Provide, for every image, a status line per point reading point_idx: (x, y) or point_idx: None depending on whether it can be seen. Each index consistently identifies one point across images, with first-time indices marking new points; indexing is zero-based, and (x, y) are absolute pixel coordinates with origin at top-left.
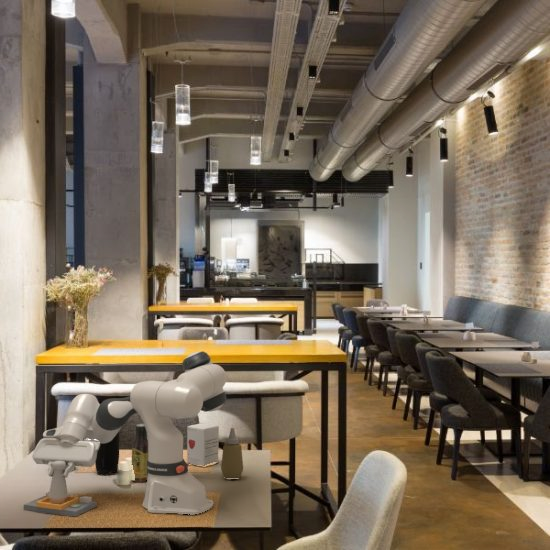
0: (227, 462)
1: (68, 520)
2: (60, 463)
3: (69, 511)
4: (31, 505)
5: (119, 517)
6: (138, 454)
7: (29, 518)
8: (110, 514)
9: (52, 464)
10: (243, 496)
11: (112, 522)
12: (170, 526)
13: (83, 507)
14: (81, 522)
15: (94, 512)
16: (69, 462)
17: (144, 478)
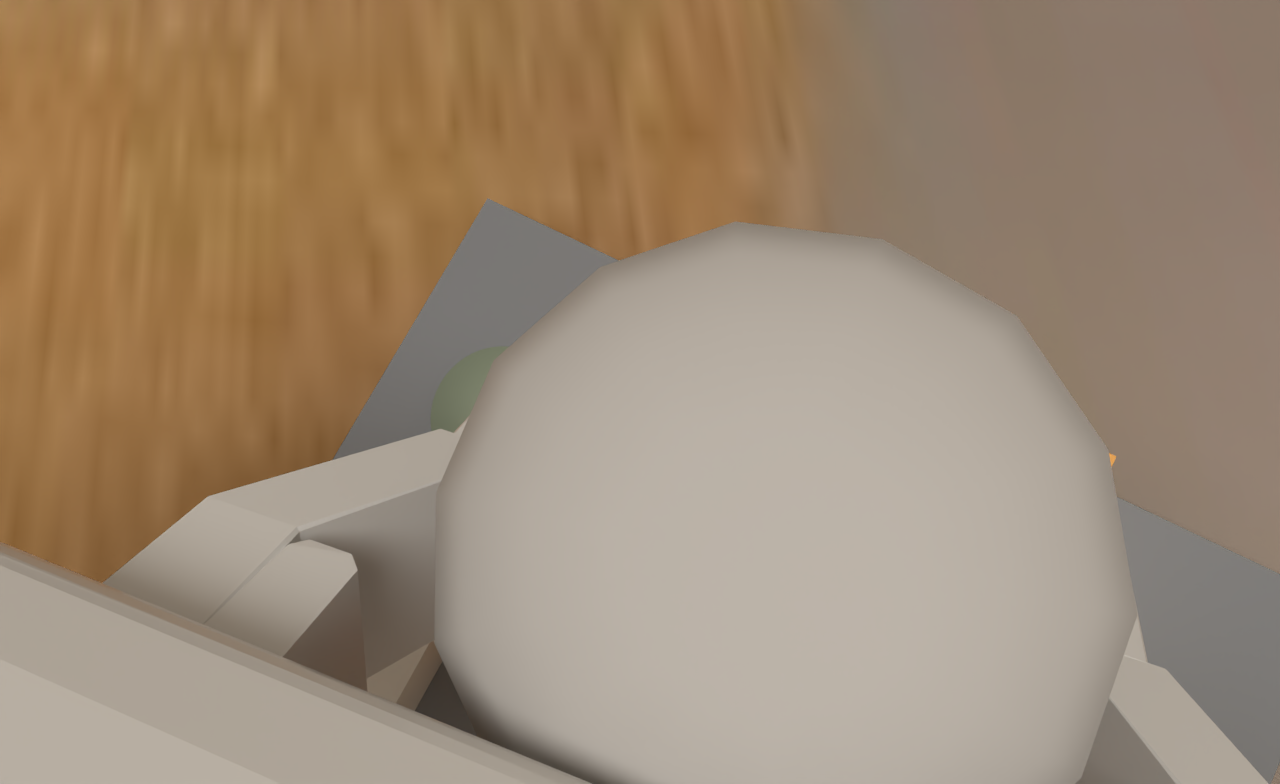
0: None
1: (577, 114)
2: (635, 283)
3: (569, 240)
4: (1187, 538)
5: (55, 187)
6: None
7: (1075, 208)
8: (133, 294)
9: (1051, 374)
10: None
11: (134, 38)
12: None
13: (399, 364)
14: (433, 46)
15: (301, 384)
16: (254, 626)
17: None
